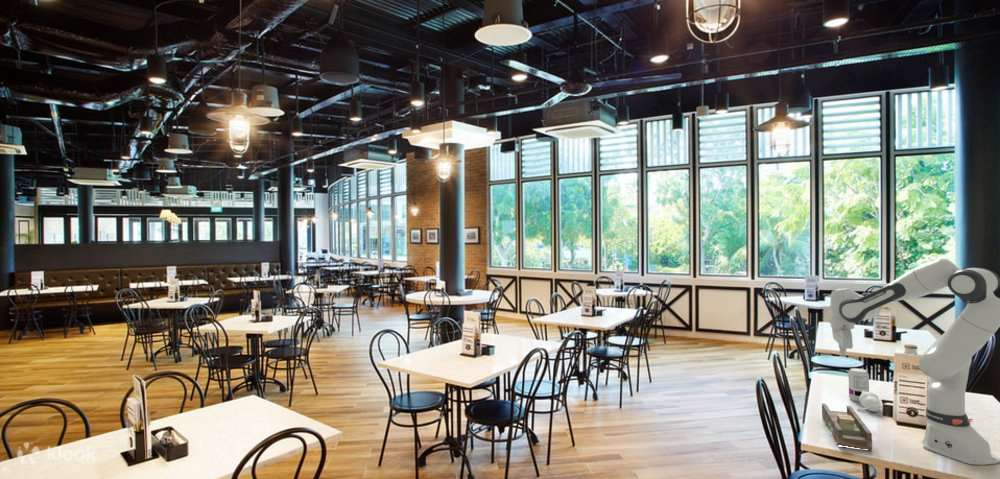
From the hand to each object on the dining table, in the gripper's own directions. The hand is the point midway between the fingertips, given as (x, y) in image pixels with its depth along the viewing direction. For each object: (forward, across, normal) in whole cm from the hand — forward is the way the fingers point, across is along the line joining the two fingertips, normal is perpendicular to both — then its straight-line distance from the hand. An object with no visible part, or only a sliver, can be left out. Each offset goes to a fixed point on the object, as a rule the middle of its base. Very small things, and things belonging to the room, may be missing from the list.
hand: (842, 354), depth 227 cm
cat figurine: (+29, +15, -13) cm, 36 cm away
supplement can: (+29, +29, -12) cm, 43 cm away
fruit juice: (+29, +33, -34) cm, 56 cm away
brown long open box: (+29, -20, +4) cm, 36 cm away
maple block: (+25, -23, +4) cm, 34 cm away
